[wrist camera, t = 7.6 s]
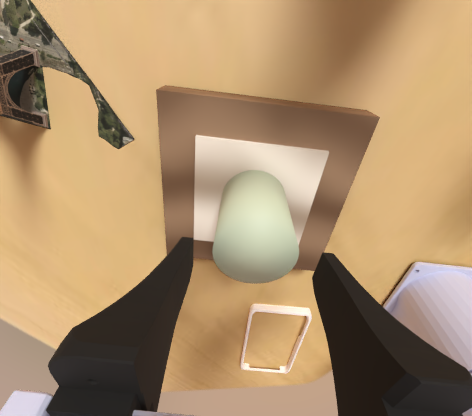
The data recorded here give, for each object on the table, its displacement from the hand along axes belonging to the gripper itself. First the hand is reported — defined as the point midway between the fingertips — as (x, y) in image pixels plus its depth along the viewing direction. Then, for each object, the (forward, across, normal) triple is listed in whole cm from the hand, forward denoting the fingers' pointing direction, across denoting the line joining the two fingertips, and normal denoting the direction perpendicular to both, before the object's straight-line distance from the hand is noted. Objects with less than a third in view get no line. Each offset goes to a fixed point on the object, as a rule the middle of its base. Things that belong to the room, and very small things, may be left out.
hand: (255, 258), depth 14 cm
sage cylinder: (+6, 0, 0) cm, 6 cm away
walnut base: (+8, 0, 0) cm, 8 cm away
